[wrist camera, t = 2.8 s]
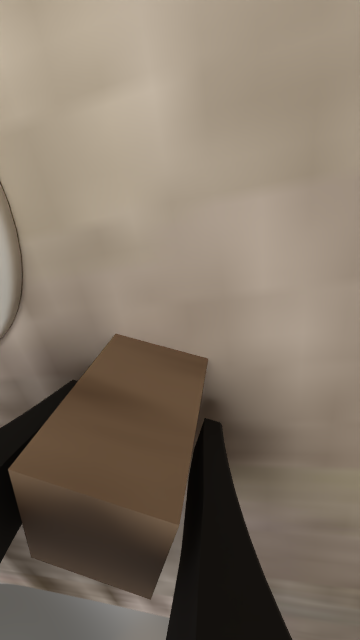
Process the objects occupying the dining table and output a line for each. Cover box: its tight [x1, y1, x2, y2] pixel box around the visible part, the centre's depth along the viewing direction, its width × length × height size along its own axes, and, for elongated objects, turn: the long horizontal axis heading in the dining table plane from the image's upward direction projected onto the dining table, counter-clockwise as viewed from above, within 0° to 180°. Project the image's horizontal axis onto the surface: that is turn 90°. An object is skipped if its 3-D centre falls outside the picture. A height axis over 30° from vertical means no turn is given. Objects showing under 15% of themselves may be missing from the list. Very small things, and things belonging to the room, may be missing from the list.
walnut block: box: [8, 334, 208, 600], centre depth 10 cm, size 5×4×6 cm
